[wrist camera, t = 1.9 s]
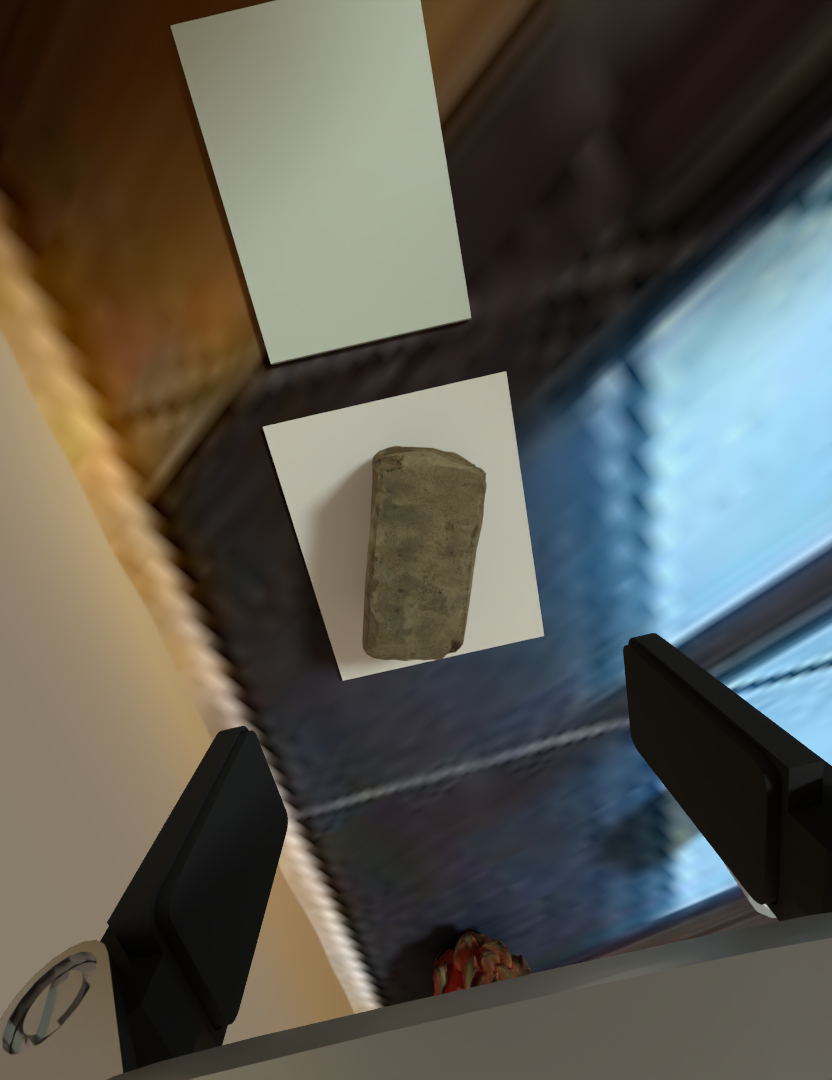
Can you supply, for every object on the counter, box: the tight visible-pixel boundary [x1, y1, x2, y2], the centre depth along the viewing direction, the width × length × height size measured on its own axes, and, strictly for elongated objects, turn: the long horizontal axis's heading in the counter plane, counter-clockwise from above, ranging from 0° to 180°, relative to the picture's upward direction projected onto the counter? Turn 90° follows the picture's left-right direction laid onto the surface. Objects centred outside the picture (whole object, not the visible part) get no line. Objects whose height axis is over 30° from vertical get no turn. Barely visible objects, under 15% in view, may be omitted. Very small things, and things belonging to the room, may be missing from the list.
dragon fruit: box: [433, 931, 531, 996], centre depth 32 cm, size 8×8×12 cm
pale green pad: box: [170, 0, 471, 365], centre depth 20 cm, size 14×11×1 cm
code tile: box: [263, 371, 544, 681], centre depth 25 cm, size 17×14×1 cm
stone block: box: [362, 446, 487, 661], centre depth 22 cm, size 6×12×5 cm, turn 176°
